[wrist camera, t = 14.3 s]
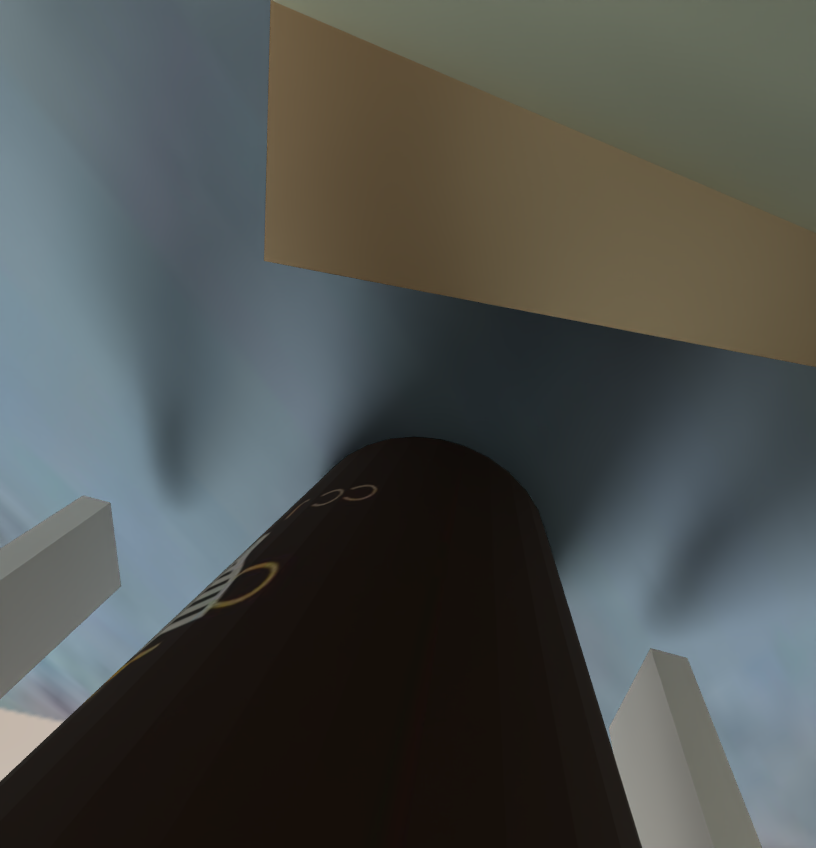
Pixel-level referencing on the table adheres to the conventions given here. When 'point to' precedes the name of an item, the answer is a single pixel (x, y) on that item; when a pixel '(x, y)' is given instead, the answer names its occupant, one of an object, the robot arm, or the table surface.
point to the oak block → (511, 206)
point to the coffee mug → (350, 688)
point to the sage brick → (634, 77)
